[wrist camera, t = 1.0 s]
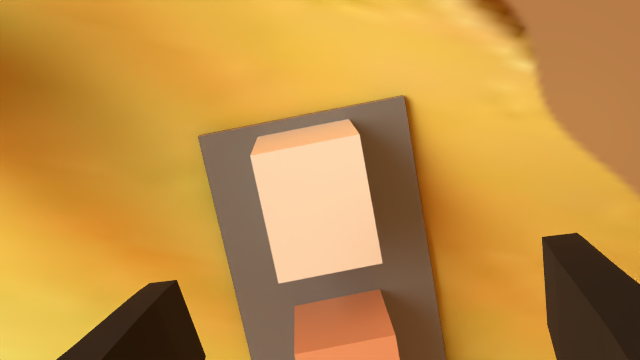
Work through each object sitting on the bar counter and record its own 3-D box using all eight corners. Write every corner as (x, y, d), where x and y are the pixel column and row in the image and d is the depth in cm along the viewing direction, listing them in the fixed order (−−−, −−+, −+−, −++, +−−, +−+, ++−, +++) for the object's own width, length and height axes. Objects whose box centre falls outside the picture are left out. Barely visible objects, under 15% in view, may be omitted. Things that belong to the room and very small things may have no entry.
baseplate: (448, 379, 30) (450, 384, 29) (266, 415, 30) (266, 420, 29) (402, 95, 27) (404, 96, 26) (199, 135, 27) (197, 136, 26)
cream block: (368, 228, 28) (382, 263, 23) (281, 245, 28) (278, 283, 23) (348, 118, 26) (359, 134, 22) (257, 136, 26) (250, 155, 22)
